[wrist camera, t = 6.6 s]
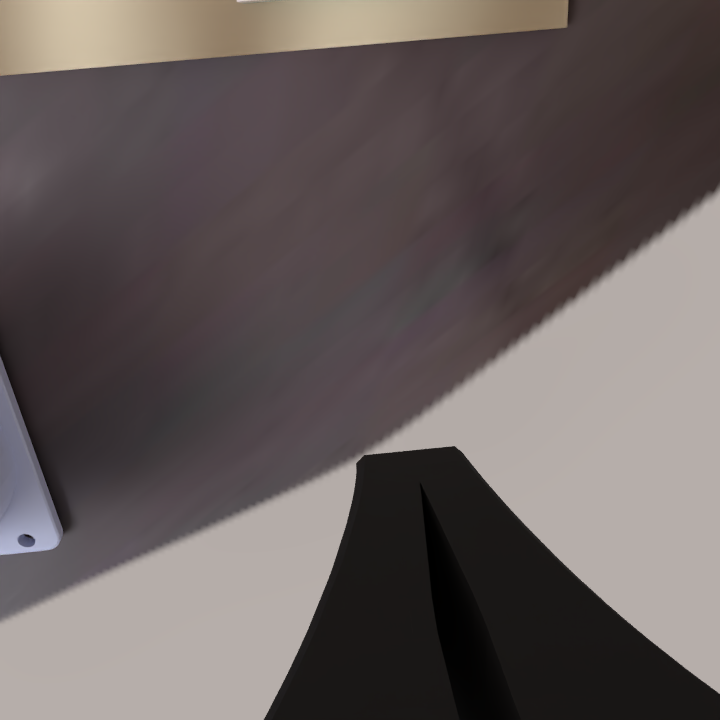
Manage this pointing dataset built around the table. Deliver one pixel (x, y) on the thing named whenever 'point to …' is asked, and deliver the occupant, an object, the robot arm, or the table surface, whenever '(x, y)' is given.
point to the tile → (254, 1)
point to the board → (239, 27)
